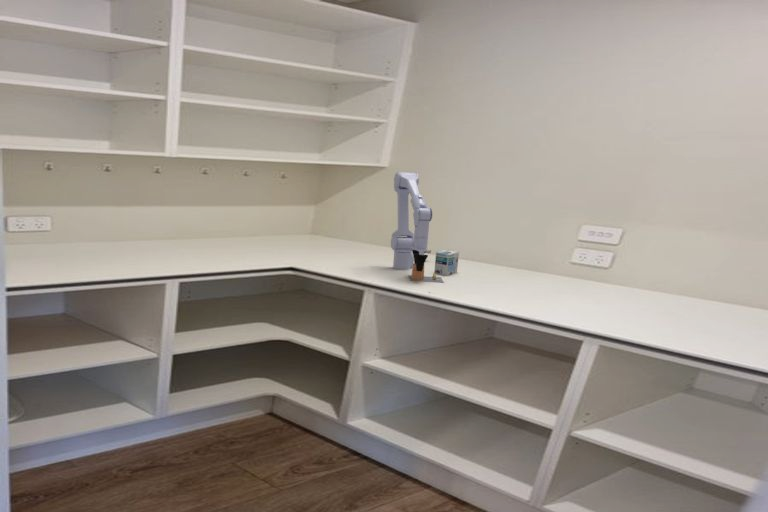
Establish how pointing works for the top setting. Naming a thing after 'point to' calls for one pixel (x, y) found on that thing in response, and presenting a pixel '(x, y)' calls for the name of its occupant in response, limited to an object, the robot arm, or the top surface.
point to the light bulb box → (446, 262)
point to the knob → (417, 273)
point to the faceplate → (428, 279)
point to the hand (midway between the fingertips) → (418, 269)
